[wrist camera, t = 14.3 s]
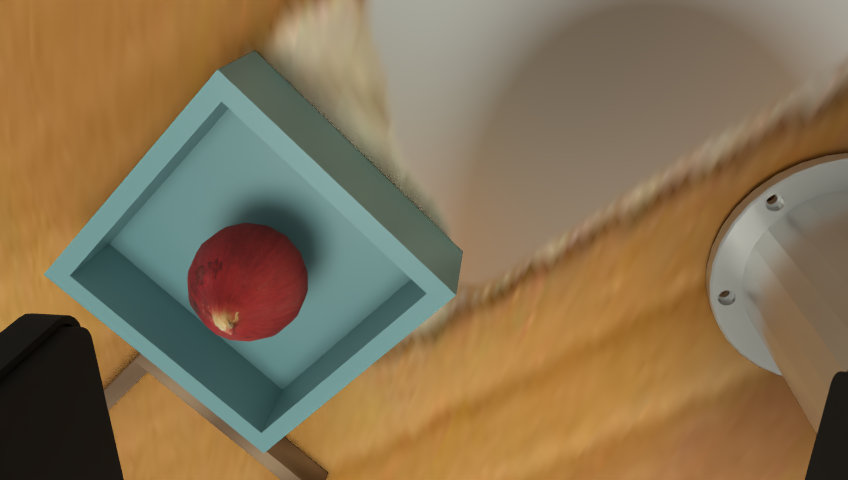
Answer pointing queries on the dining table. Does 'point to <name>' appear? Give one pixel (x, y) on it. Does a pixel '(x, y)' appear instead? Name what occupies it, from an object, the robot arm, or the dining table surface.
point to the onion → (247, 282)
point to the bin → (281, 210)
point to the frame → (220, 424)
